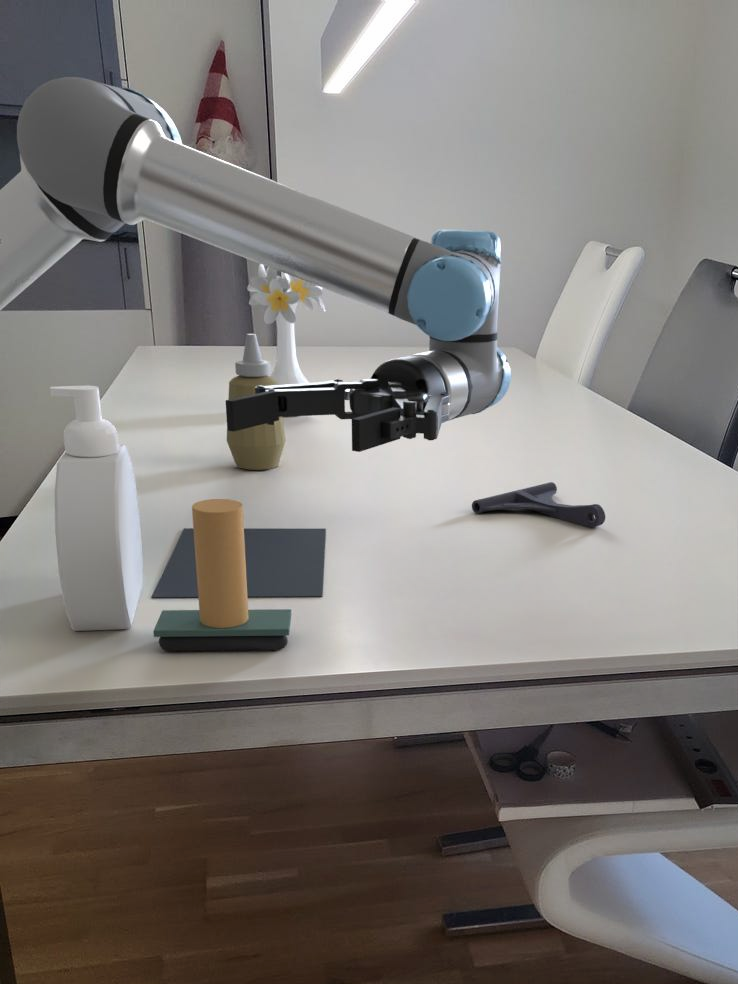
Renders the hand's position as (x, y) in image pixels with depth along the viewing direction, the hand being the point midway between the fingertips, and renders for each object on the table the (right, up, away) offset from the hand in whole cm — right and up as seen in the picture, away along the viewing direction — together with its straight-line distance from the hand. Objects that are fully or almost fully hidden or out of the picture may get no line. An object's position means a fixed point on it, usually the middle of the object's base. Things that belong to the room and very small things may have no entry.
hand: (290, 425), depth 90 cm
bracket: (+26, -3, +39) cm, 47 cm away
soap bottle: (-18, -16, +5) cm, 24 cm away
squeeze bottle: (-15, +6, +56) cm, 58 cm away
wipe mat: (-8, -10, +19) cm, 23 cm away
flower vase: (-17, +21, +91) cm, 95 cm away
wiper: (-5, -19, -1) cm, 20 cm away
